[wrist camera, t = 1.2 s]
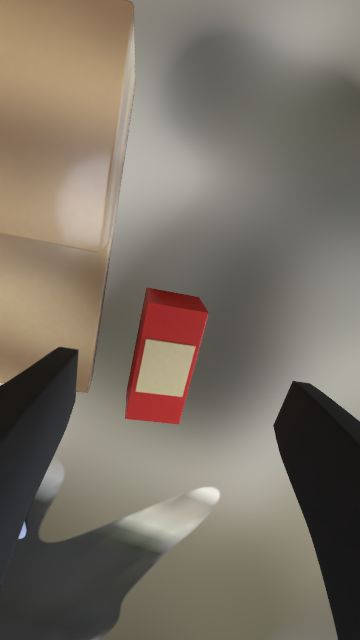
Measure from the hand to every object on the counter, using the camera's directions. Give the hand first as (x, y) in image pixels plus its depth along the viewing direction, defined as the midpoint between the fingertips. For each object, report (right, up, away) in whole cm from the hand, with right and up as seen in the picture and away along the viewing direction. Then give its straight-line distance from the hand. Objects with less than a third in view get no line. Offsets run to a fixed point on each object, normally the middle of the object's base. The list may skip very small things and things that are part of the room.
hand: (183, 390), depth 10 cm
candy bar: (-1, +1, +11) cm, 12 cm away
